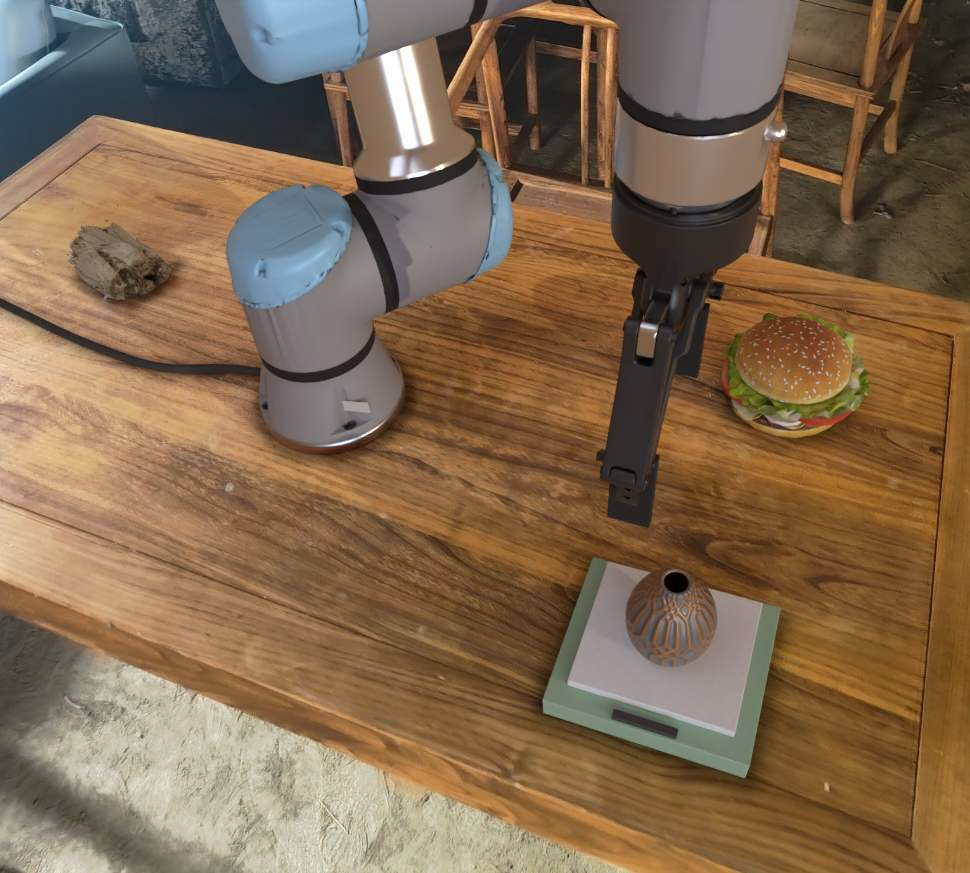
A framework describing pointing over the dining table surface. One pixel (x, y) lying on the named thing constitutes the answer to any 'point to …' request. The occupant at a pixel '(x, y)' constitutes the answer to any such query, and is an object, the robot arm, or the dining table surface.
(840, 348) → the food
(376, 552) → the dining table surface
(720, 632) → the scale
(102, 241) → the grey-brown fibrous clump
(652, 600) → the vase
